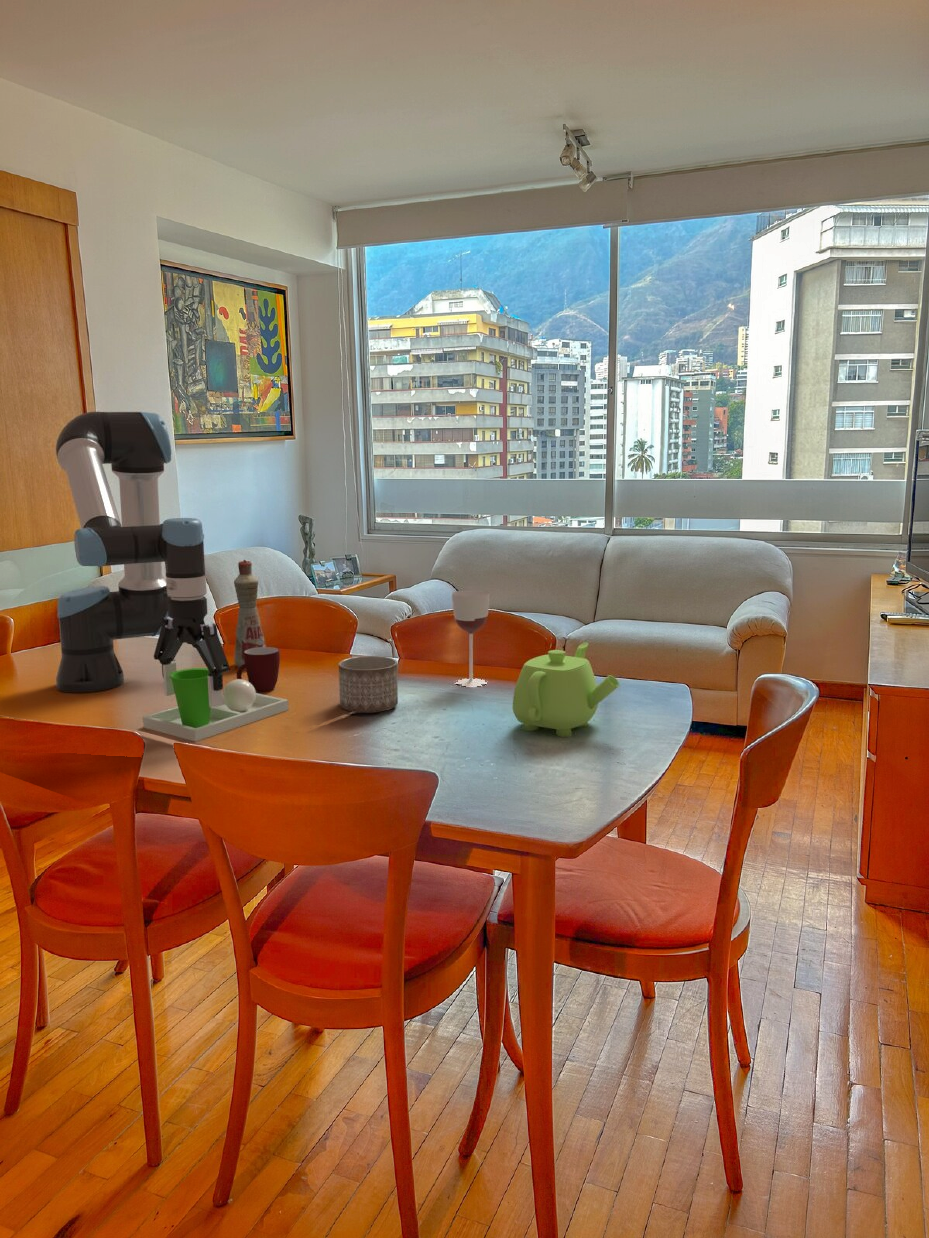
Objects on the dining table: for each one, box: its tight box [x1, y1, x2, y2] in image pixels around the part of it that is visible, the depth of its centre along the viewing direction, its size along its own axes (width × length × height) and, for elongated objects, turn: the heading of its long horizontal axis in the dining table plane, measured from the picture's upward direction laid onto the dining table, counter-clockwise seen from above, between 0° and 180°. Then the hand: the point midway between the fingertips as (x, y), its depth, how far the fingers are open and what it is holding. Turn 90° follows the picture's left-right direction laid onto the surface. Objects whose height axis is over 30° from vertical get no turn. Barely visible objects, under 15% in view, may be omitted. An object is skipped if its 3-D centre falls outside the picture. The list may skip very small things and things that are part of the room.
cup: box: [169, 667, 211, 728], centre depth 182 cm, size 9×9×11 cm
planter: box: [338, 655, 399, 714], centre depth 197 cm, size 13×13×10 cm
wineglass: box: [451, 589, 490, 688], centre depth 216 cm, size 9×10×22 cm
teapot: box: [512, 642, 620, 738], centre depth 183 cm, size 25×22×16 cm
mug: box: [236, 646, 281, 693], centre depth 208 cm, size 10×8×10 cm
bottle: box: [233, 559, 267, 669], centre depth 233 cm, size 9×9×28 cm
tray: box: [142, 692, 290, 743], centre depth 188 cm, size 16×25×3 cm, turn 146°
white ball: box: [222, 678, 257, 712], centre depth 192 cm, size 7×7×7 cm
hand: (193, 699), depth 182 cm, fingers open, 13 cm apart
